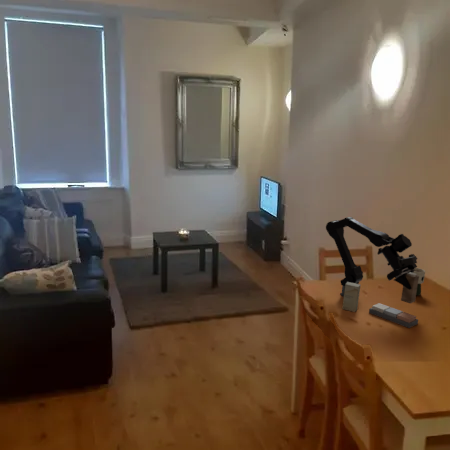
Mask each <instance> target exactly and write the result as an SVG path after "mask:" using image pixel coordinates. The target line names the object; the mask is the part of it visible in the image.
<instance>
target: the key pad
mask: <svg viewBox="0 0 450 450" xmlns="http://www.w3.org/2000/svg"><path fill="white" fill-rule="evenodd" d="M368 310H369V311H368V313H369V314H372V315H374V316H376V317H379V318H381V317H382V319H384V320H387V321H390V322H392V323H395V324H398V325H400V326H403V327H405V328H409V329H410V328H413V327H414V326H417V325H418V324H419V319H417V318H416V320H415V321H413V322H410V323H408V322H405V321H403V320H400V319H397V315H398V314H401V313H403V312H404V311H403V310H400V309H397V308H394V307H391V306H388V305H386V304H382V303H380V302H378V303H376V304H373V305H372V306H371V308H369V309H368Z"/></svg>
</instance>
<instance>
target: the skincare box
mask: <svg viewBox="0 0 450 450" xmlns="http://www.w3.org/2000/svg"><path fill="white" fill-rule="evenodd" d="M360 292H361V284H360V283H359V284H356V283H351V282H347V283H346V284H345V291H344V297H343V300H342V306H341V307H342V308H341V309H342V310H346V311H349V312H354V313H356V312H357V310H358V308H359V307H358V305H359V300H360V299H359V298H360Z"/></svg>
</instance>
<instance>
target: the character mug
mask: <svg viewBox="0 0 450 450" xmlns="http://www.w3.org/2000/svg"><path fill="white" fill-rule="evenodd" d="M414 273H415V274H417V276H419V280H418V286H417V292H416V296H421V295H422V284H423V283H424V281H425V276H426V275H425V274H426V270H425V269H422V268H419V267H416V268H415V270H414Z"/></svg>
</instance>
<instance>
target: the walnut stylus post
mask: <svg viewBox="0 0 450 450" xmlns="http://www.w3.org/2000/svg"><path fill="white" fill-rule="evenodd" d="M406 278H407V280H408V282H409V284H410V286H411V289H410V290H409V289H408V288H406V287H405V286H403V285H402V290H401V298H400V301H401V302H404V303H408V304H410V305H411V304H413V303H414V302H416V296H417V295H416V292H417V286H418V280H419V276H417V274H415V273H411V272H410V273H407V274H406Z"/></svg>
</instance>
